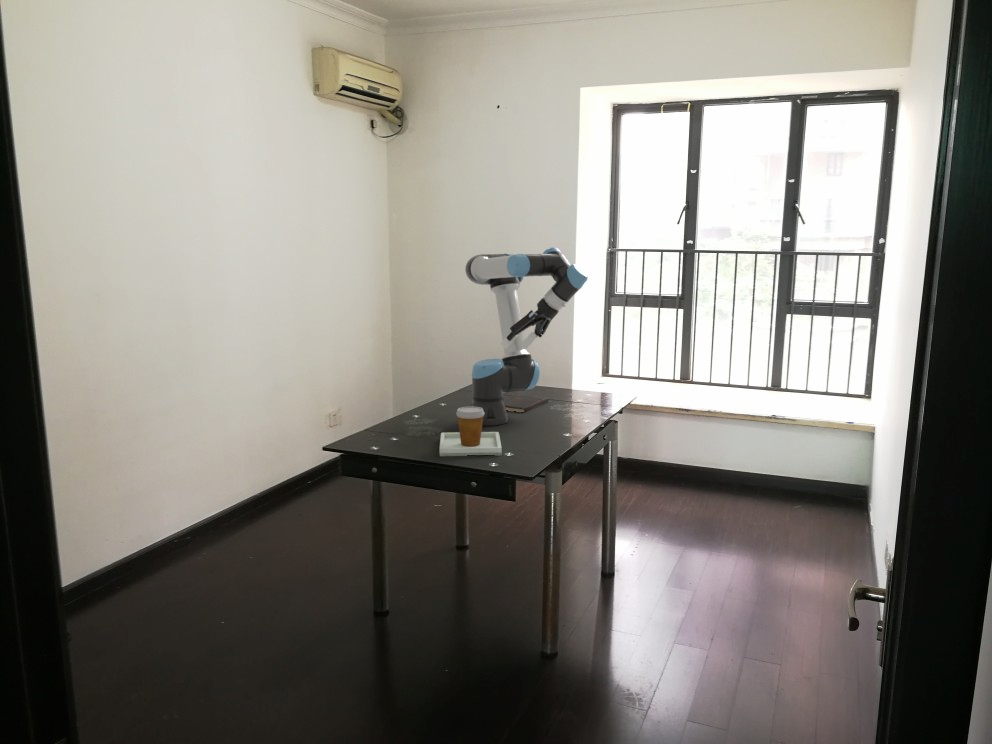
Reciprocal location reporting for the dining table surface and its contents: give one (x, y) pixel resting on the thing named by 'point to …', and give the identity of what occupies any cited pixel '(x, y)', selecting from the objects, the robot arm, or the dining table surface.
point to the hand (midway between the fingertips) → (513, 346)
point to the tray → (453, 447)
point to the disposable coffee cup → (470, 425)
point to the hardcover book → (523, 402)
